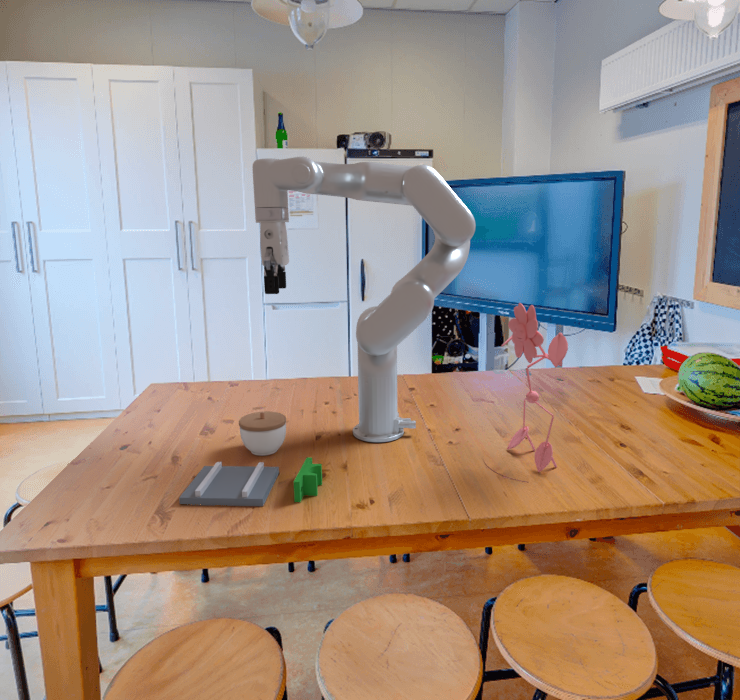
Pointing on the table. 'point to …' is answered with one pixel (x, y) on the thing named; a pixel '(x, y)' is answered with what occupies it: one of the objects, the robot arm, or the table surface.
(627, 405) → the table surface
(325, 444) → the table surface
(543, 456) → the figurine
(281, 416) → the lidded jar
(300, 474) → the pipe clamp
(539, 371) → the table surface
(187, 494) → the rail board
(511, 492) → the table surface
